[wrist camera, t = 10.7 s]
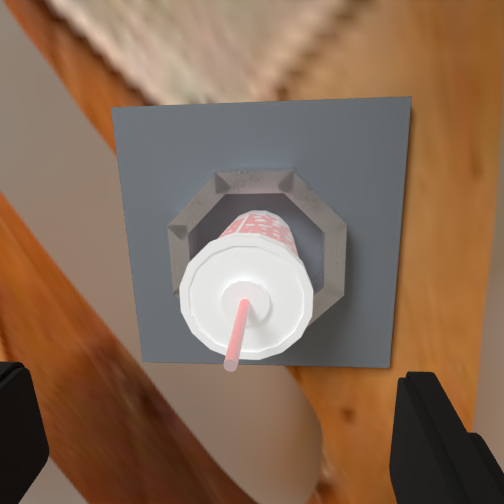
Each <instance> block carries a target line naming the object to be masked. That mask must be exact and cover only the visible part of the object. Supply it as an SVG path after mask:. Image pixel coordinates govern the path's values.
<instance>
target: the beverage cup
mask: <svg viewBox="0 0 504 504" xmlns="http://www.w3.org/2000/svg"><path fill="white" fill-rule="evenodd" d="M179 292H180V307H181V313H182V315H183V317H184V319H185V321H186V322H187V324H188V326H189V328H190V330H191V332H192V334H194V335H195V336H196V337H197V338H198V339H199V340H200V341H201V342H202V343H204V344H205V345H206V346H207V347H208V348H209V349H210V350H213V351H215V352H218V353H220V354H223V355H225V360H224V364H223V365H224V368H225V369H226V370H227V371H230V372H233V371H235V370H236V369H237V367H238V362H239V359H248V360H260V359H263V358H266V357H270V356H273V355H276V354H279V353H282V352H284V351H285V350H286V349H287V348H288V347H290V346H291V345H292V344H293V343H295V342H296V341H297V340H298V339H299V338H301V336H302V335H303V333H304V331H305V329H306V327H307V325H308V323H309V321H310V319H311V317H312V310H313V287H312V284H311V281H310V279H309V276H308V274H307V271H306V269H305V266H304V264H303V262H302V261H301V260H300V259H299V256H298V253H297V249H296V246H295V242H294V238H293V236H292V233H291V231H290V228H289V226H288V225H287V224H286V223H285V222H284V221H283V220H282V219H281V218H280V217H279V216H278V215H275V214H273V213H270V212H268V211H258V210H252V211H249V212H247V213H244V214H242V215H239V216H238V217H237V218H236V219H235V220H234V221H233V222H232V223H231V224H230V225H229V226H228V227H227V229H226V230H225V231H224V232H223V233H222V234H221V235H220V236H219V238H218V239H216V240H213V241H211V242H209V243H208V244H207V245H206V246H205V247H204V248H203V249H202V250H201V251H200V252H199V253H198V254H197V255H196V256H195V257H194V258H193V259H192V260H191V261H190V262H189V264H188V265H187V268H186V271H185V273H184V276H183V279H182V281H181V284H180V286H179Z"/></svg>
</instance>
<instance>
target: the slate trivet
mask: <svg viewBox="0 0 504 504" xmlns="http://www.w3.org/2000/svg"><path fill="white" fill-rule="evenodd" d="M411 98H412V96H408V97H381V98H354V99H326V100H299V101H272V102H244V103H217V104H190V105H162V106H135V107H111V112H112V120H113V128H114V136H115V144H116V152H117V160H118V168H119V175H120V184H121V192H122V200H123V207H124V216H125V224H126V232H127V240H128V247H129V256H130V264H131V272H132V280H133V288H134V296H135V304H136V312H137V319H138V328H139V336H140V343H141V352H142V360H143V362H163V363H205V364H224V360H225V355H223V354H220V353H218V352H215V351H213V350H210V349H209V348H208V347H207V346H206V345H205V344H204V343H202V342H201V341H200V340H199V339H198V338H197V337H196V336H195V335H194V334H192V332H191V330H190V328H189V326H188V324H187V322H186V321H185V319H184V317H183V315H182V313H181V307H180V299H179V298H178V297H176V296H175V295H174V294H173V284H172V273H171V263H170V252H169V241H168V231H167V225H168V224H169V223H170V222H171V221H172V220H173V219H174V218H175V217H176V216H177V215H178V214H179V212H180V211H181V210H182V209H183V208H184V207H185V206H186V205H187V204H188V202H189V201H190V200H191V199H192V198H193V197H194V196H195V195H196V194H197V192H198V191H199V190H200V189H201V188H202V187H203V186H204V185H205V184H206V182H207V181H208V180H209V179H210V178H211V177H212V176H213V175H214V173H215V172H217V171H218V170H220V169H221V168H223V167H225V168H226V167H272V166H293V167H294V168H295V169H296V170H297V171H298V172H299V173H300V174H301V175H302V176H303V177H304V178H305V179H306V180H307V181H308V182H309V183H310V184H311V185H312V186H313V187H314V188H315V189H316V190H317V191H318V192H319V193H320V194H321V195H322V196H323V197H324V198H325V199H326V200H327V201H328V202H329V203H330V204H331V205H332V206H333V207H334V208H335V209H336V210H337V211H338V212H339V213H341V215H342V217H343V218H344V220H345V222H346V223H347V234H346V258H345V283H344V296H343V297H341V298H340V299H339V300H338V301H337V302H336V303H334V304H333V305H332V306H331V307H330V308H329V309H328V310H326V311H325V312H324V313H323V314H322V315H321V316H319V317H318V318H317V319H316V320H315V321H314V322H313V323H311V324H310V325H309V326H308V327H307V328H306V329H305V331H304V333H303V335H302V336H301V338H299V339H298V340H297V341H296V342H295V343H293V344H292V345H291V346H290V347H288V348H287V349H286V350H285V351H284V352H282V353H279V354H276V355H273V356H270V357H266V358H263V359H260V360H248V359H239V362H238V364H245V365H286V366H328V367H369V368H389V366H390V354H391V342H392V330H393V318H394V305H395V293H396V281H397V269H398V257H399V244H400V232H401V220H402V208H403V196H404V184H405V171H406V159H407V147H408V135H409V123H410V110H411ZM252 210H258V211H268V212H270V213H273V214H275V215H278V216H279V217H280V218H281V219H282V220H283V221H284V222H285V223H286V224H287V225H288V226H289V228H290V231H291V233H292V236H293V238H294V242H295V246H296V249H297V253H298V256H299V259H300V260H301V261H302V262H303V264H304V266H305V269H306V271H307V274H308V276H309V279H311V278H312V277H313V276H314V275H315V274H317V273H318V272H319V271H320V253H321V229H320V228H319V227H318V226H317V225H316V224H315V223H314V222H313V221H312V220H311V219H310V218H309V217H308V216H307V215H306V214H305V213H304V212H303V211H302V210H301V209H300V208H299V207H297V206H296V205H295V204H294V203H293V202H292V201H291V200H290V199H289V198H288V197H287V196H286V195H285V194H284V193H259V194H225V195H224V196H223V197H222V198H221V199H220V200H219V201H218V202H217V203H216V205H215V206H214V207H213V208H212V209H211V210H210V211H209V212H208V213H207V214H206V215H205V216H204V217H203V219H202V220H201V221H200V222H199V235H200V249H201V250H202V249H203V248H204V247H205V246H206V245H207V244H208V243H209V242H211V241H213V240H216V239H218V238H219V236H220V235H221V234H222V233H223V232H224V231H225V230H226V229H227V227H228V226H229V225H230V224H231V223H232V222H233V221H234V220H235V219H236V218H237V217H238V216H239V215H242V214H244V213H247V212H249V211H252Z"/></svg>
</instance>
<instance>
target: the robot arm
mask: <svg viewBox="0 0 504 504" xmlns="http://www.w3.org/2000/svg"><path fill="white" fill-rule="evenodd" d="M48 456H49V446H48V442H47V438H46V434H45V430H44V426H43V422H42V418H41V414H40V410H39V406H38V402H37V398H36V394H35V390H34V386H33V382H32V378H31V374H30V371H29V370H28V369H27V368H25V367H24V365H23V364H22V363H20V362H0V504H18V503H19V502H20V500H21V499H22V497H23V496H24V494H25V493H26V492H27V490H28V489H29V487H30V486H31V484H32V483H33V482H34V480H35V479H36V477H37V476H38V474H39V473H40V471H41V470H42V468H43V467H44V466H45V464H46V462H47V459H48ZM389 469H390V478H391V482H392V486H393V490H394V493H395V497H396V500H397V504H504V473H503V472H502V470H501V468H500V466H499V465H498V463H497V461H496V459H495V458H494V456H493V454H492V453H491V451H490V450H489V448H488V446H487V444H486V443H485V441H484V440H483V439H482V437H481V436H480V435H479V434H477V433H467V431H466V429H465V427H464V426H463V424H462V422H461V420H460V418H459V417H458V415H457V413H456V411H455V409H454V408H453V406H452V404H451V402H450V400H449V399H448V397H447V395H446V393H445V391H444V390H443V388H442V386H441V384H440V382H439V380H438V379H437V377H436V375H435V374H434V373H433V372H410V371H409V372H407V374H406V378H399V380H398V385H397V395H396V405H395V415H394V424H393V434H392V444H391V453H390V464H389Z"/></svg>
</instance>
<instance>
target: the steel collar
mask: <svg viewBox="0 0 504 504" xmlns="http://www.w3.org/2000/svg"><path fill="white" fill-rule="evenodd" d="M259 193H284V194H285V195H286V196H287V197H288V198H289V199H290V200H291V201H292V202H293V203H294V204H295V205H296V206H297V207H299V208H300V209H301V210H302V211H303V212H304V213H305V214H306V215H307V216H308V217H309V218H310V219H311V220H312V221H313V222H314V223H315V224H316V225H317V226H318V227H319V228H320V229H321V253H320V271H319V272H318V273H317V274H315V275H314V276H313V277H312V278H311V279H310V281H311V284H312V287H313V310H312V317H311V319H310V321H309V323H308V325H307V327H308V326H309V325H310V324H311V323H313V322H314V321H315V320H316V319H317V318H318V317H319V316H321V315H322V314H323V313H324V312H325V311H326V310H328V309H329V308H330V307H331V306H332V305H333V304H334V303H336V302H337V301H338V300H339V299H340V298H341V297H343V296H344V283H345V258H346V234H347V223H346V222H345V220H344V218H343V217H342V215H341V213H339V212H338V211H337V210H336V209H335V208H334V207H333V206H332V205H331V204H330V203H329V202H328V201H327V200H326V199H325V198H324V197H323V196H322V195H321V194H320V193H319V192H318V191H317V190H316V189H315V188H314V187H313V186H312V185H311V184H310V183H309V182H308V181H307V180H306V179H305V178H304V177H303V176H302V175H301V174H300V173H299V172H298V171H297V170H296V169H295V168H294V167H293V166H272V167H226V168H225V167H223V168H221V169H220V170H218V171H217V172H215V173H214V175H213V176H212V177H211V178H210V179H209V180H208V181H207V182H206V184H205V185H204V186H203V187H202V188H201V189H200V190H199V191H198V192H197V194H196V195H195V196H194V197H193V198H192V199H191V200H190V201H189V202H188V204H187V205H186V206H185V207H184V208H183V209H182V210H181V211H180V212H179V214H178V215H177V216H176V217H175V218H174V219H173V220H172V221H171V222H170V223H169V224H168V225H167V231H168V241H169V252H170V263H171V273H172V284H173V294H174V295H175V296H176V297H178V298H179V299H180V292H179V286H180V284H181V281H182V279H183V276H184V273H185V271H186V268H187V265H188V264H189V262H190V261H191V260H192V259H193V258H194V257H195V256H196V255H197V254H198V253H199V252H200V251H201V249H200V235H199V222H200V221H201V220H202V219H203V217H204V216H205V215H206V214H207V213H208V212H209V211H210V210H211V209H212V208H213V207H214V206H215V205H216V203H217V202H218V201H219V200H220V199H221V198H222V197H223V196H224V195H225V194H259ZM307 327H306V328H307Z"/></svg>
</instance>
